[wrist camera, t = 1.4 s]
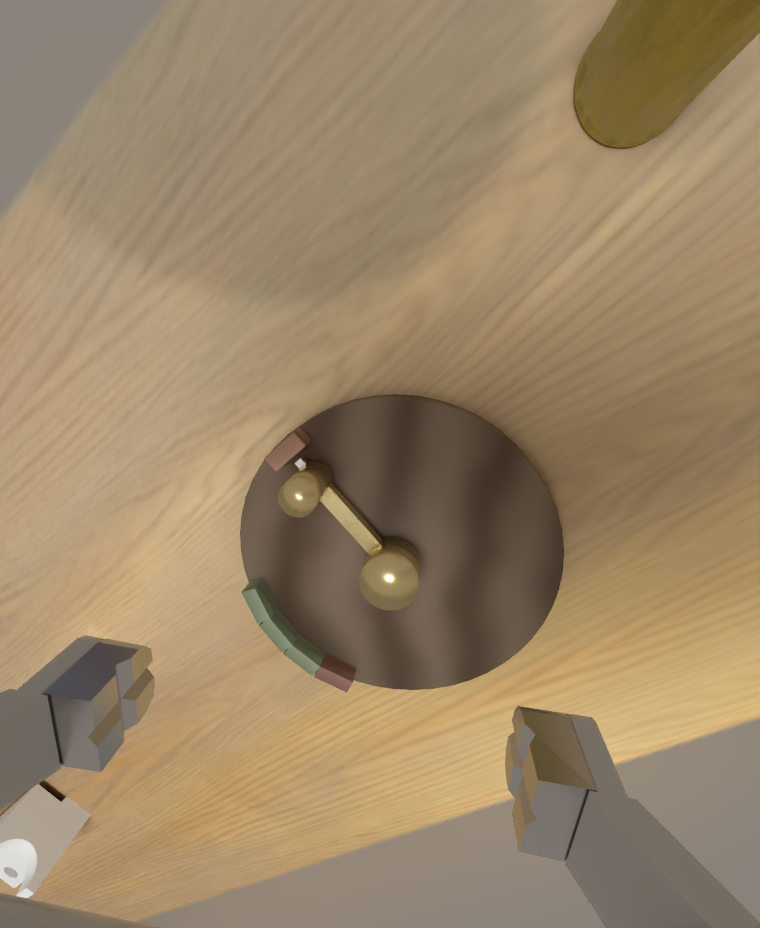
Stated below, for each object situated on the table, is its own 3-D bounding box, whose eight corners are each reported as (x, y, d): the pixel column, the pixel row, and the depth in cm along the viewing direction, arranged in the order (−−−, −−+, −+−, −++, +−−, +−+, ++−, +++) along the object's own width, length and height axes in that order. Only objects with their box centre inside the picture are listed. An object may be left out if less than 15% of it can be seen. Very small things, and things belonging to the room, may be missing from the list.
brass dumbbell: (431, 567, 31) (430, 603, 27) (390, 594, 33) (382, 633, 28) (320, 441, 30) (300, 459, 25) (280, 475, 31) (255, 497, 27)
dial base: (575, 395, 29) (592, 404, 25) (540, 684, 36) (550, 720, 32) (235, 393, 32) (211, 401, 29) (265, 658, 39) (249, 689, 36)
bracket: (44, 774, 49) (-24, 850, 42) (92, 812, 50) (34, 893, 43) (-5, 819, 53) (-75, 895, 46) (40, 853, 54) (-22, 933, 47)
